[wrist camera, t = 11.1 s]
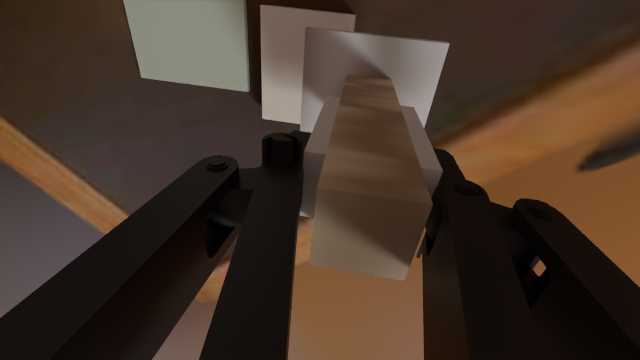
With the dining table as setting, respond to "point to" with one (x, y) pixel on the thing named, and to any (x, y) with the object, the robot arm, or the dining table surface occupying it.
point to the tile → (289, 55)
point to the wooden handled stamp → (369, 147)
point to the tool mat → (191, 41)
